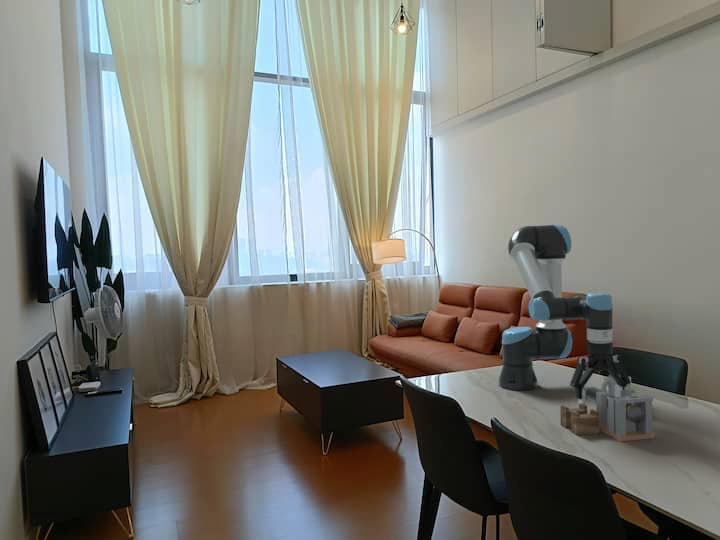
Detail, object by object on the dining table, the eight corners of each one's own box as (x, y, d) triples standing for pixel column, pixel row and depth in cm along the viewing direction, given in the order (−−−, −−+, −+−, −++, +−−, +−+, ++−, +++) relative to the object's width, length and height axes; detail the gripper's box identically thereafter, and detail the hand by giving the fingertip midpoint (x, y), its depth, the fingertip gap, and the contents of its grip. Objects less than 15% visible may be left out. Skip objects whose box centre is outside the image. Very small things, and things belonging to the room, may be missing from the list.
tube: (586, 401, 166) (585, 387, 165) (599, 399, 166) (599, 386, 166) (630, 424, 144) (630, 408, 144) (645, 422, 144) (644, 406, 144)
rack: (560, 424, 159) (560, 404, 158) (582, 422, 160) (582, 403, 159) (576, 435, 150) (576, 414, 150) (599, 433, 151) (599, 412, 150)
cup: (635, 404, 175) (634, 379, 175) (605, 404, 176) (605, 379, 176) (626, 398, 183) (625, 374, 182) (597, 398, 184) (597, 374, 183)
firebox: (582, 419, 163) (581, 382, 162) (613, 416, 164) (613, 380, 164) (619, 441, 144) (619, 400, 144) (654, 438, 145) (654, 397, 145)
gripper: (570, 345, 156) (571, 413, 157) (642, 341, 159) (643, 407, 160) (557, 341, 163) (559, 406, 164) (626, 337, 166) (627, 400, 167)
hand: (600, 407), depth 162 cm, fingers open, 12 cm apart
